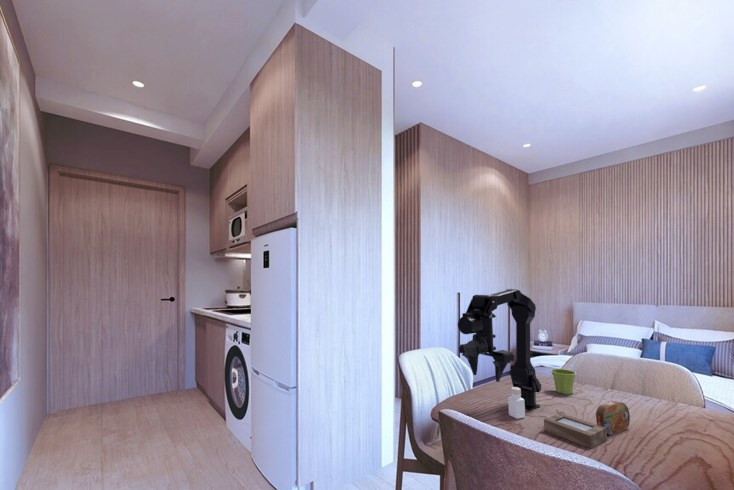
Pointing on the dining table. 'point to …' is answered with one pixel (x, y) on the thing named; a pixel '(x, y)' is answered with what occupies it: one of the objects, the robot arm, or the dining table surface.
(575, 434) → the guide block
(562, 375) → the plant pot
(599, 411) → the tin
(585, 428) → the white flat block
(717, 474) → the dining table surface
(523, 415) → the pepper shaker
